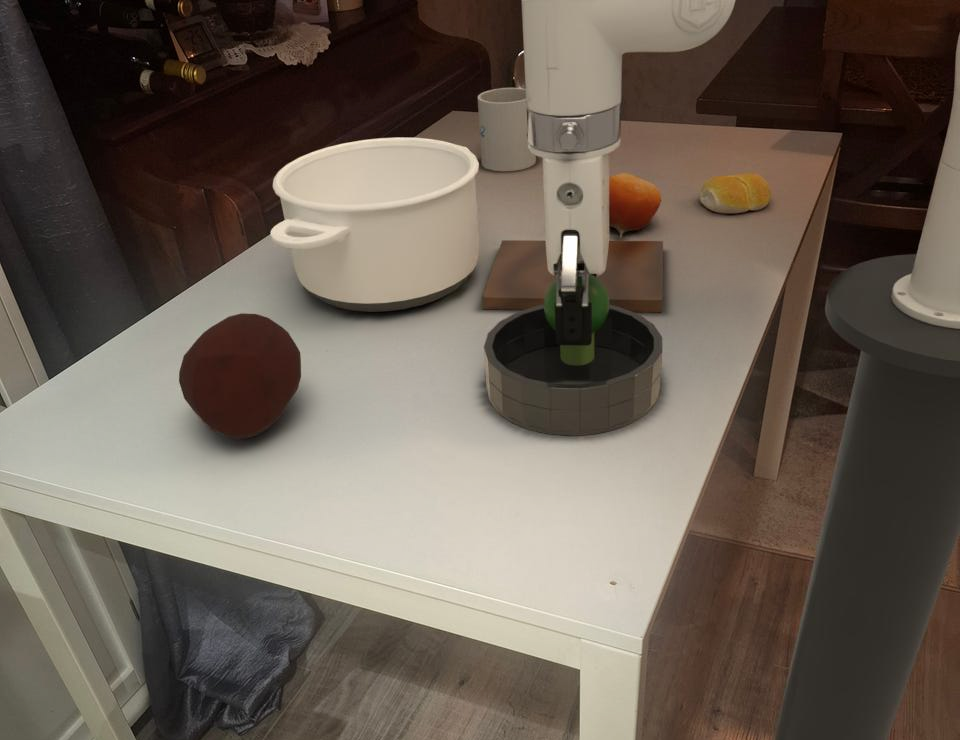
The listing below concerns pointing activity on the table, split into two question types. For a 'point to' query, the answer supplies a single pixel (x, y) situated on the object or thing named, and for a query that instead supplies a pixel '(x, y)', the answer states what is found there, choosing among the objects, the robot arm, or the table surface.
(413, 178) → the pot
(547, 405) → the pan
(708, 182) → the bread roll
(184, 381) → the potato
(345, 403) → the table surface
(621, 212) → the fruit
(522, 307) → the board
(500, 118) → the mug
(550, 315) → the broccoli
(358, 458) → the table surface
